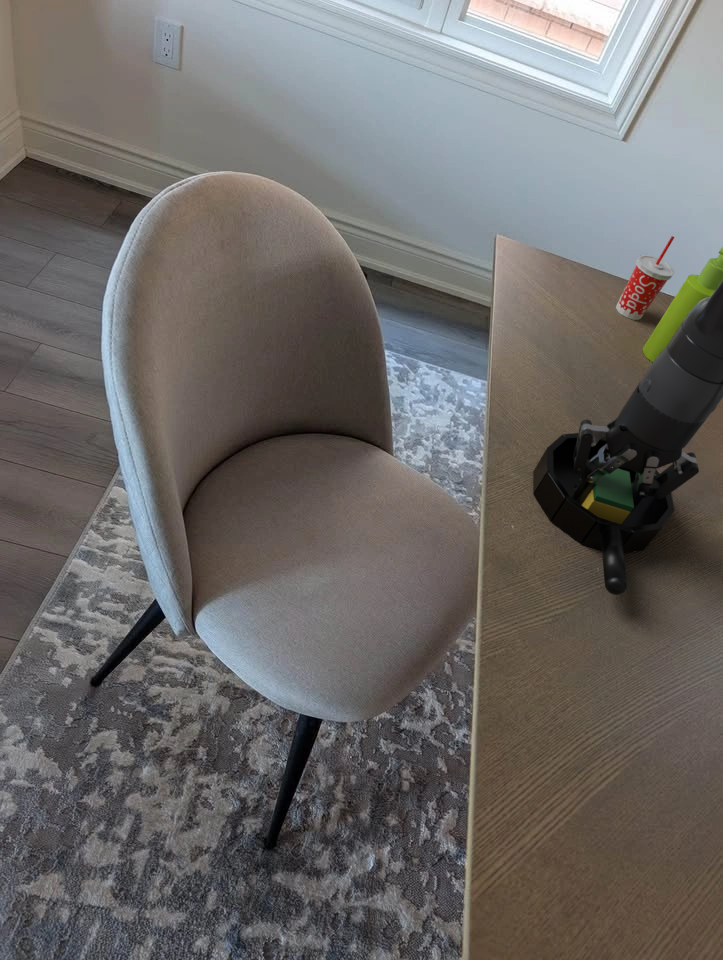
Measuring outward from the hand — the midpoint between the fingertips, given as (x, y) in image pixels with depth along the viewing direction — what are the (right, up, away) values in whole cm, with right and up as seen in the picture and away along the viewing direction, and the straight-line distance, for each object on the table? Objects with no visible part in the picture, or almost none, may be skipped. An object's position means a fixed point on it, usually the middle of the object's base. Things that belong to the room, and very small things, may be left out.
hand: (598, 504), depth 89 cm
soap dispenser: (+19, +22, +30) cm, 42 cm away
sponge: (0, 0, 0) cm, 0 cm away
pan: (-1, -3, -1) cm, 3 cm away
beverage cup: (+17, +31, +38) cm, 52 cm away
